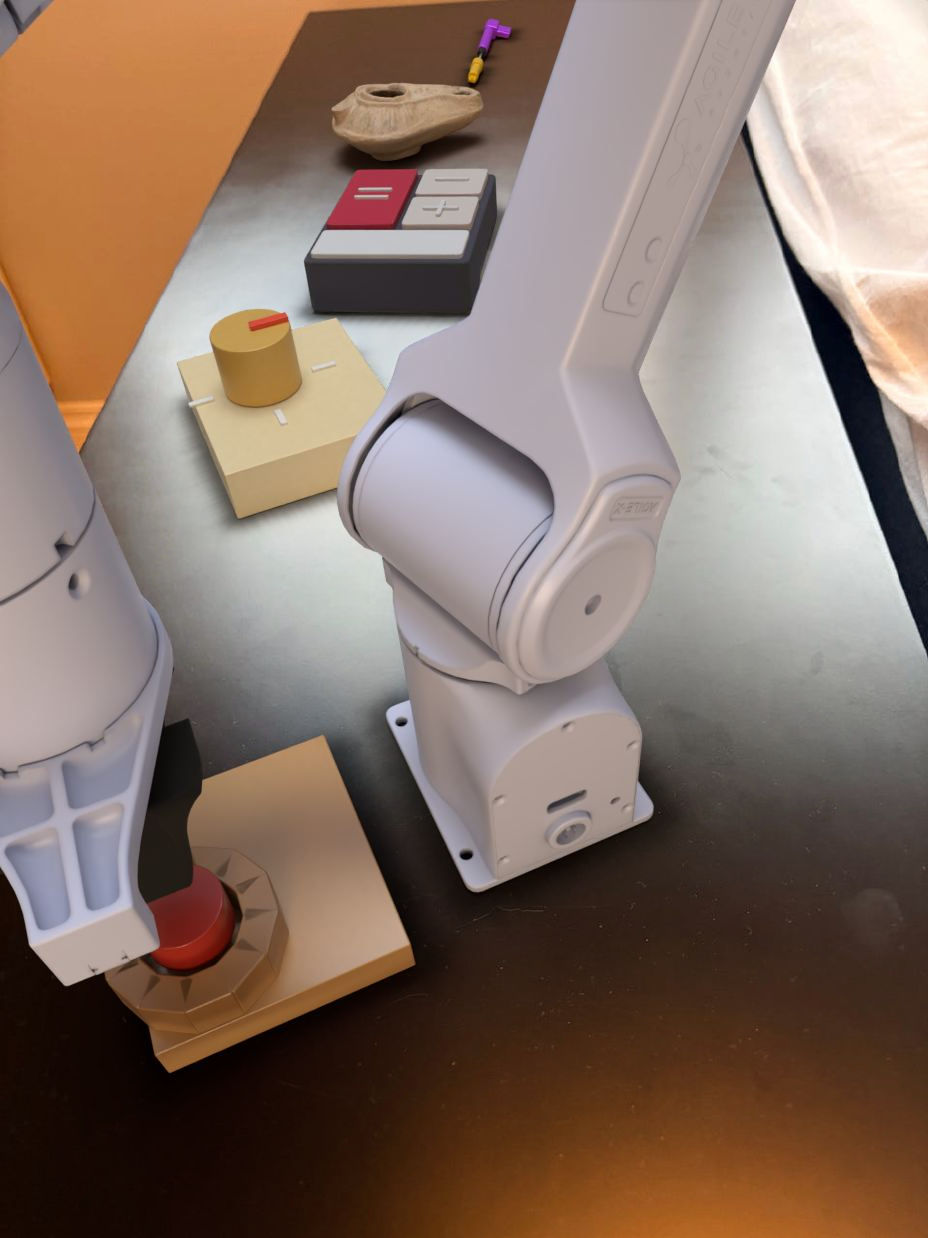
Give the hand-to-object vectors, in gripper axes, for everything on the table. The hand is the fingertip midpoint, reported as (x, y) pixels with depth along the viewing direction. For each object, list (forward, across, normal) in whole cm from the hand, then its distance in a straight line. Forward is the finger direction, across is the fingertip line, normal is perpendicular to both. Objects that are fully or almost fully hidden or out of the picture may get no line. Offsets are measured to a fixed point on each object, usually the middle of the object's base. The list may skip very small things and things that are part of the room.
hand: (151, 861), depth 30 cm
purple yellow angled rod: (+8, -81, +48) cm, 94 cm away
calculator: (+8, -46, +25) cm, 53 cm away
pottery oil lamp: (+8, -64, +32) cm, 72 cm away
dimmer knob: (+5, -31, +11) cm, 33 cm away
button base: (+8, -2, +2) cm, 8 cm away
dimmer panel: (+8, -30, +12) cm, 33 cm away
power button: (+5, 0, 0) cm, 5 cm away
